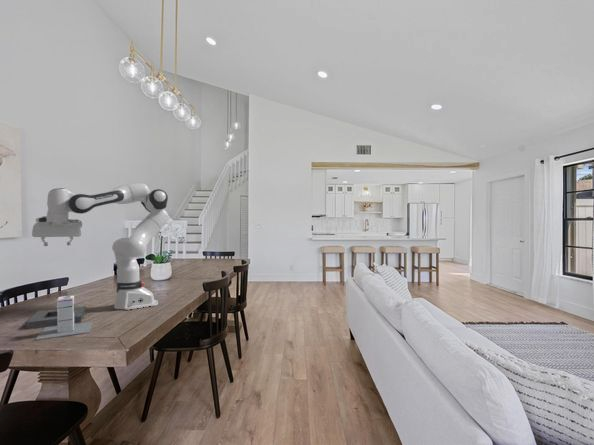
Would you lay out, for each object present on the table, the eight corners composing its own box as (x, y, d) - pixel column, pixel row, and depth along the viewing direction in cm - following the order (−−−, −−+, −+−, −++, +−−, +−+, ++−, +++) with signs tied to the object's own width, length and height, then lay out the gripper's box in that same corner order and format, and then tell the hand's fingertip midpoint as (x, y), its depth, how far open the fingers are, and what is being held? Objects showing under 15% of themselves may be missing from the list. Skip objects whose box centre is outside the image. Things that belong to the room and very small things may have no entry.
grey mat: (92, 322, 146) (92, 321, 146) (89, 332, 132) (89, 332, 132) (44, 328, 137) (44, 327, 137) (35, 340, 123) (35, 339, 123)
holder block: (85, 311, 164) (85, 306, 164) (80, 322, 146) (80, 316, 146) (37, 317, 154) (37, 311, 154) (26, 329, 136) (26, 322, 136)
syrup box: (73, 330, 134) (74, 297, 134) (56, 333, 130) (57, 299, 130) (74, 327, 138) (74, 294, 138) (57, 329, 135) (58, 296, 135)
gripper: (82, 219, 168) (81, 244, 168) (33, 218, 157) (32, 245, 156) (82, 219, 163) (81, 245, 163) (31, 218, 151) (31, 246, 151)
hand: (57, 245), depth 160 cm, fingers open, 8 cm apart
